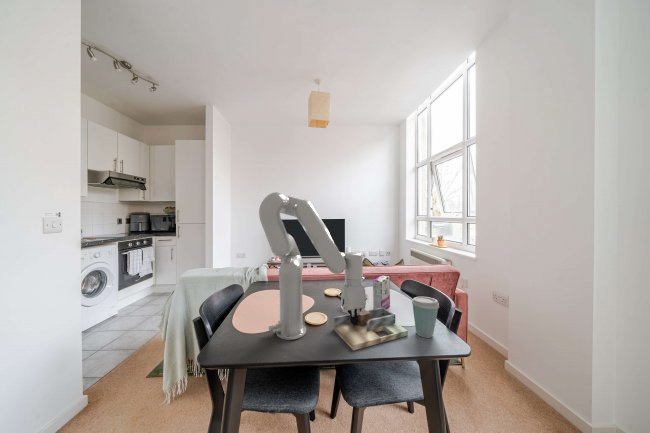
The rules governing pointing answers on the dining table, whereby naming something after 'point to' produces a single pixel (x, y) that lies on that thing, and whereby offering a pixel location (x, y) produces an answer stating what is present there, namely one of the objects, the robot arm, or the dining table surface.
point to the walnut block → (363, 318)
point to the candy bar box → (381, 292)
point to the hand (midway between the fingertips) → (354, 323)
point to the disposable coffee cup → (425, 315)
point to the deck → (361, 335)
